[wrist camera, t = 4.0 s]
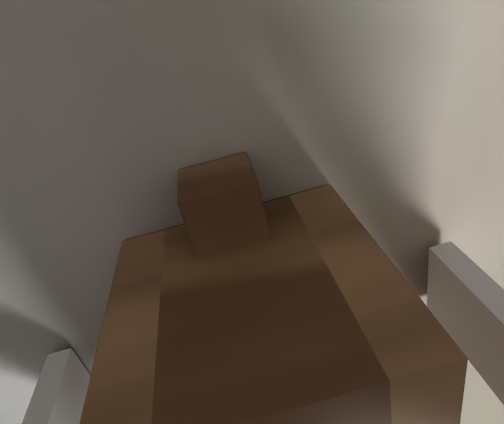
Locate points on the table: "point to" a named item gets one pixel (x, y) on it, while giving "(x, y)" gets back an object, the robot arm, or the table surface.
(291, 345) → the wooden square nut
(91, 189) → the table surface
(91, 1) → the table surface
